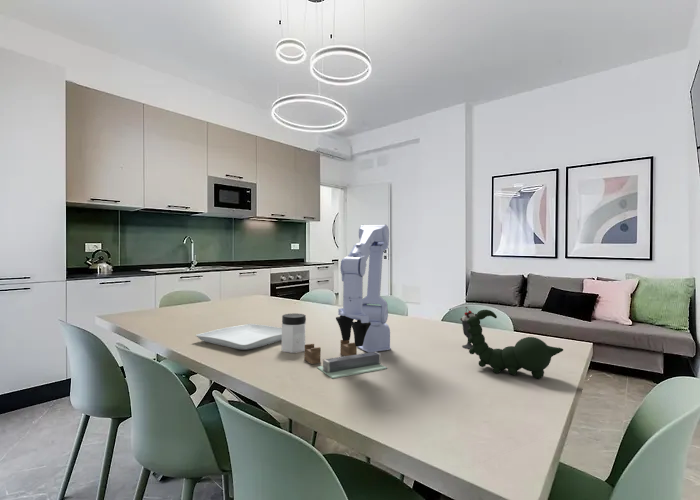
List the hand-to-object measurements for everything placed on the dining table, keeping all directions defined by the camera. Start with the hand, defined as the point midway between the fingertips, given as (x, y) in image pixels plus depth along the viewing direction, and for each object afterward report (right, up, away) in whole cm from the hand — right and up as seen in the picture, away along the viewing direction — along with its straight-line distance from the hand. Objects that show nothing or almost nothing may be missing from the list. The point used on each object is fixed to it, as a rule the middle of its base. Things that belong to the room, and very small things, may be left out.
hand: (352, 343), depth 109 cm
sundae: (+43, -8, +25) cm, 51 cm away
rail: (0, -7, 0) cm, 7 cm away
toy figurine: (+46, -8, -3) cm, 47 cm away
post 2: (-1, -8, +13) cm, 15 cm away
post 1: (-13, -7, +7) cm, 16 cm away
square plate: (-40, -8, +31) cm, 51 cm away
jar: (-20, -8, +19) cm, 29 cm away
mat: (0, -8, 0) cm, 8 cm away
